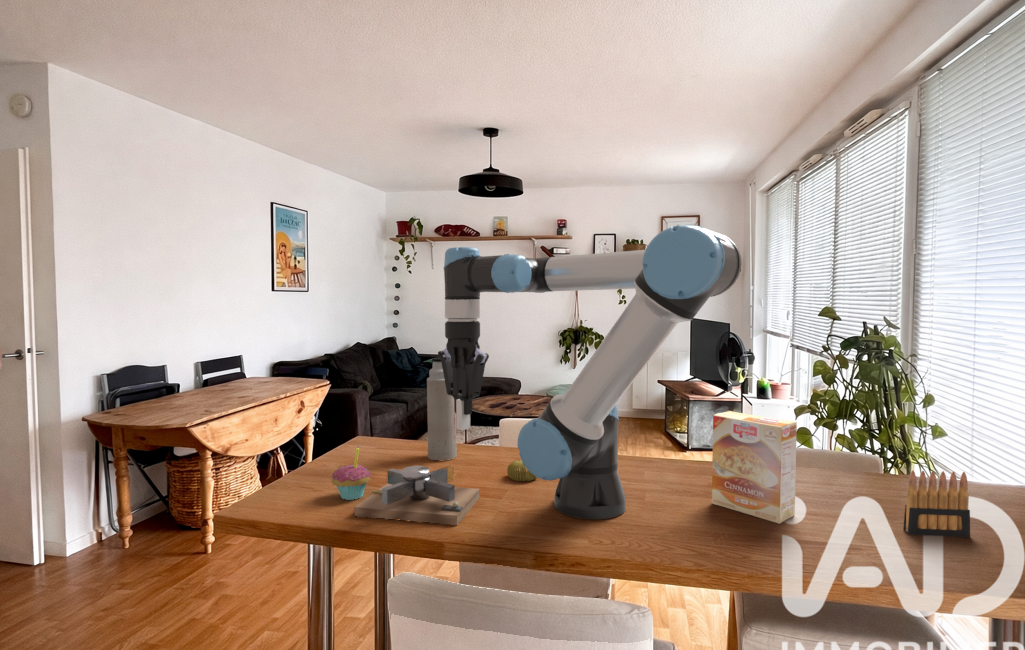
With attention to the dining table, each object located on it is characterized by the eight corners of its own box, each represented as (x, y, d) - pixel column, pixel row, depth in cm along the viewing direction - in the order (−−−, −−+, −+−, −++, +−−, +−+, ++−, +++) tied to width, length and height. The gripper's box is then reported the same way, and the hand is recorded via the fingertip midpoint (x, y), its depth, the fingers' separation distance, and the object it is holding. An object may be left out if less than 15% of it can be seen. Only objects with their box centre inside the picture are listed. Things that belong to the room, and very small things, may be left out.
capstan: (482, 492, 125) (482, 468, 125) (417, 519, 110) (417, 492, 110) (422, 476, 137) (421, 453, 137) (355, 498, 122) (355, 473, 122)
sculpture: (517, 456, 148) (545, 460, 144) (517, 471, 148) (545, 476, 144) (500, 464, 141) (529, 468, 137) (501, 480, 142) (529, 485, 137)
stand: (479, 497, 129) (479, 481, 129) (457, 525, 114) (456, 507, 113) (386, 490, 134) (386, 475, 134) (352, 516, 118) (352, 499, 118)
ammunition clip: (908, 534, 108) (910, 471, 108) (903, 530, 110) (904, 468, 109) (970, 537, 107) (972, 473, 106) (964, 533, 109) (966, 470, 108)
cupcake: (377, 492, 133) (377, 440, 133) (358, 505, 125) (357, 450, 124) (344, 488, 135) (343, 438, 135) (323, 501, 127) (322, 447, 127)
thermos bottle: (458, 453, 165) (457, 356, 164) (454, 461, 157) (453, 359, 156) (430, 453, 166) (429, 356, 164) (425, 461, 158) (424, 359, 156)
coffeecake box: (710, 503, 125) (711, 414, 124) (727, 496, 129) (729, 410, 128) (779, 524, 113) (781, 426, 112) (796, 515, 118) (797, 421, 117)
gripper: (497, 320, 123) (497, 429, 124) (452, 318, 131) (453, 421, 132) (473, 321, 117) (474, 436, 118) (428, 320, 125) (429, 427, 126)
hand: (463, 428), depth 125 cm, fingers closed
